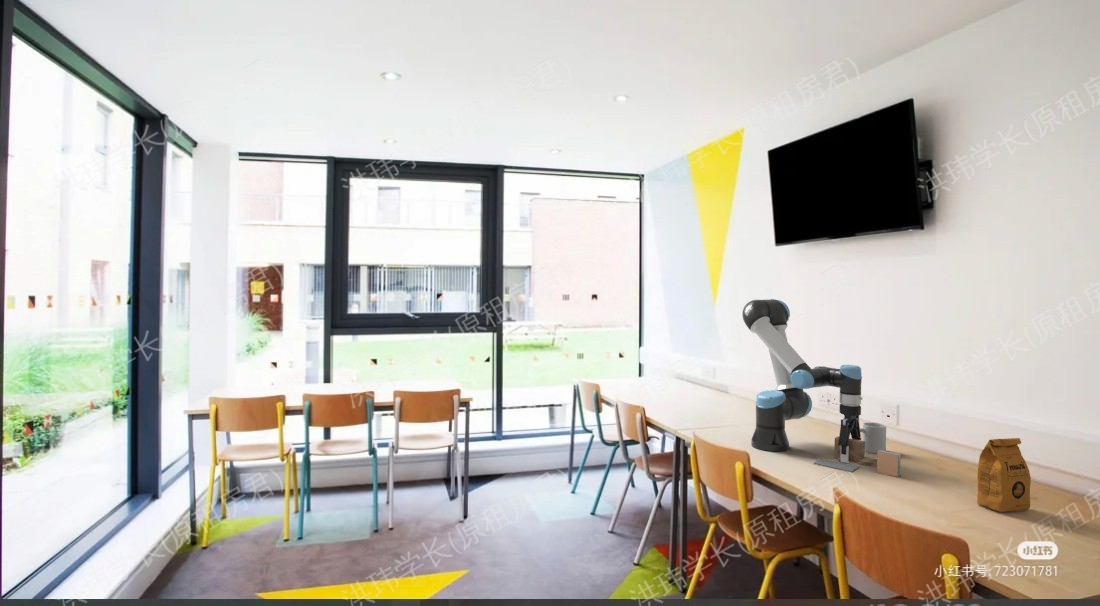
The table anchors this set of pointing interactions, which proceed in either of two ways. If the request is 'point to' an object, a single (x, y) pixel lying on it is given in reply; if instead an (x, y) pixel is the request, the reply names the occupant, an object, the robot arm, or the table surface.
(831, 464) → the pad
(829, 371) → the robot arm
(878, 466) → the tile
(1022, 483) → the coffee package
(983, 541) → the table surface
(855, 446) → the stepped wooden block
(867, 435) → the mug
